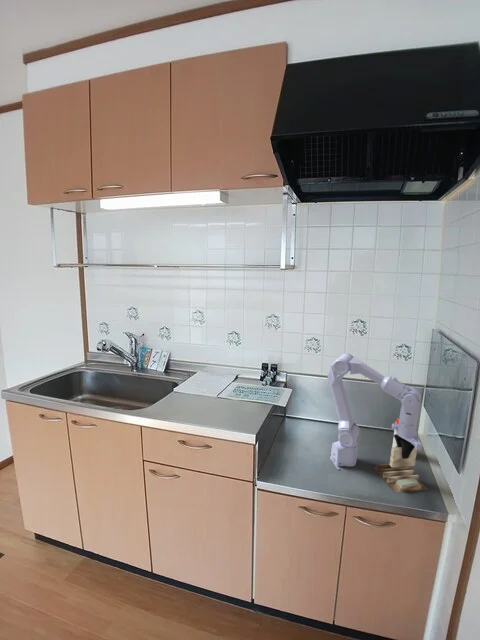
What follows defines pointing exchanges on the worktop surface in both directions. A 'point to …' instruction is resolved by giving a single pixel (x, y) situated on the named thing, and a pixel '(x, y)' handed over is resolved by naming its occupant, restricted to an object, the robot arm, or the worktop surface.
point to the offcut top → (407, 482)
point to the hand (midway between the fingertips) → (403, 456)
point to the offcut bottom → (409, 487)
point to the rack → (396, 475)
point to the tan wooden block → (397, 458)
